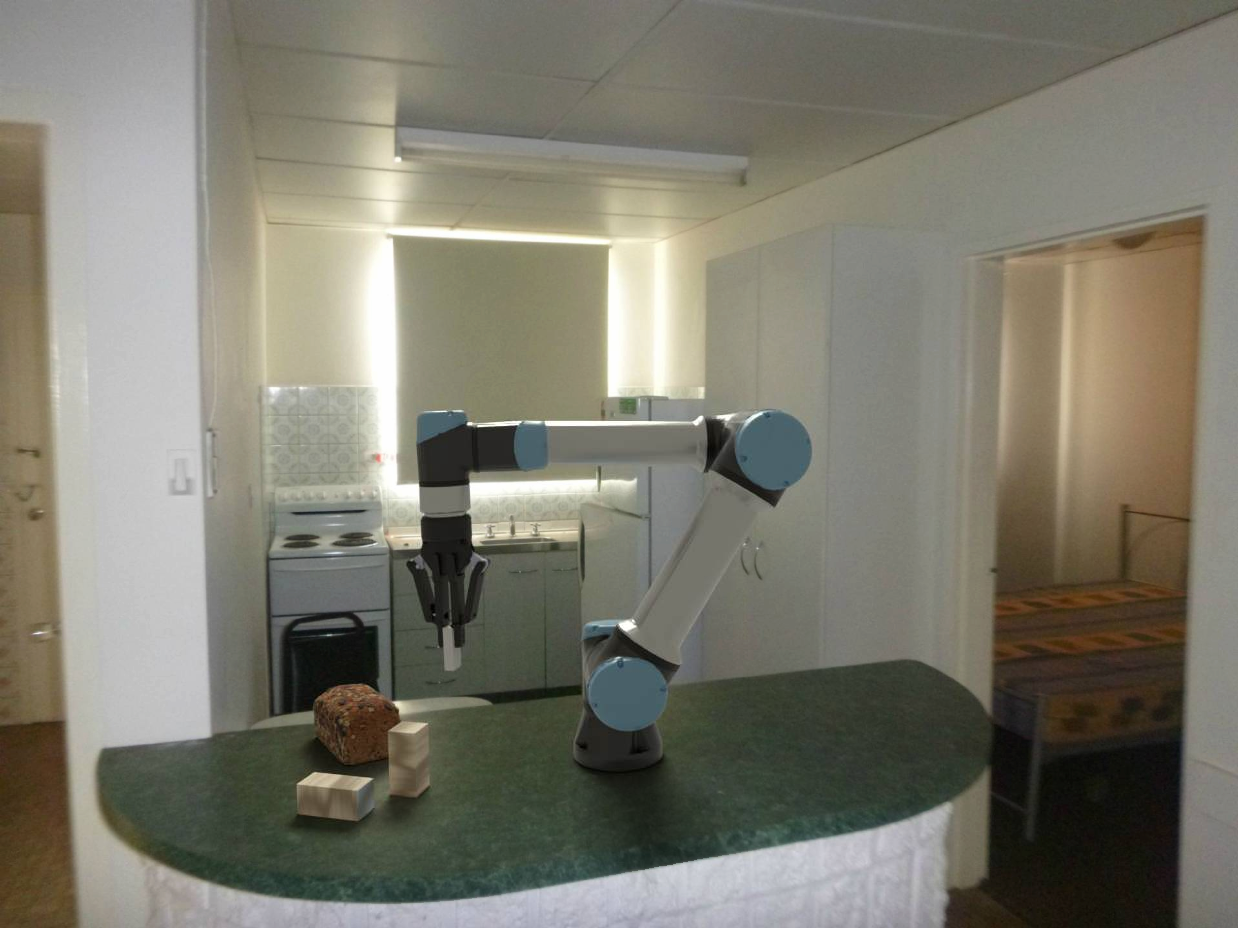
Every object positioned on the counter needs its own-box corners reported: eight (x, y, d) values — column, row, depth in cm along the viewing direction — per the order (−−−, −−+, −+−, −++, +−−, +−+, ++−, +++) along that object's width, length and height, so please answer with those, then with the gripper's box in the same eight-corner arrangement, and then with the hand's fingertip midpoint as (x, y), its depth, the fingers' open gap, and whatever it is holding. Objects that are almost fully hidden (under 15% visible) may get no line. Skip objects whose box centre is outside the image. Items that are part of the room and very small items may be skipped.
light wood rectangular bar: (373, 778, 133) (314, 771, 136) (357, 790, 129) (296, 784, 131) (374, 807, 134) (315, 800, 136) (358, 821, 129) (297, 813, 132)
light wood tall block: (429, 785, 141) (428, 723, 141) (416, 797, 137) (414, 733, 136) (403, 782, 142) (402, 721, 142) (389, 794, 138) (387, 731, 137)
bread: (403, 756, 154) (401, 699, 153) (340, 770, 148) (338, 711, 147) (369, 725, 169) (368, 673, 169) (311, 736, 163) (309, 683, 163)
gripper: (495, 510, 137) (502, 662, 138) (417, 510, 140) (424, 659, 141) (476, 516, 129) (483, 677, 131) (394, 516, 132) (402, 673, 134)
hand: (453, 667), depth 136 cm, fingers closed
